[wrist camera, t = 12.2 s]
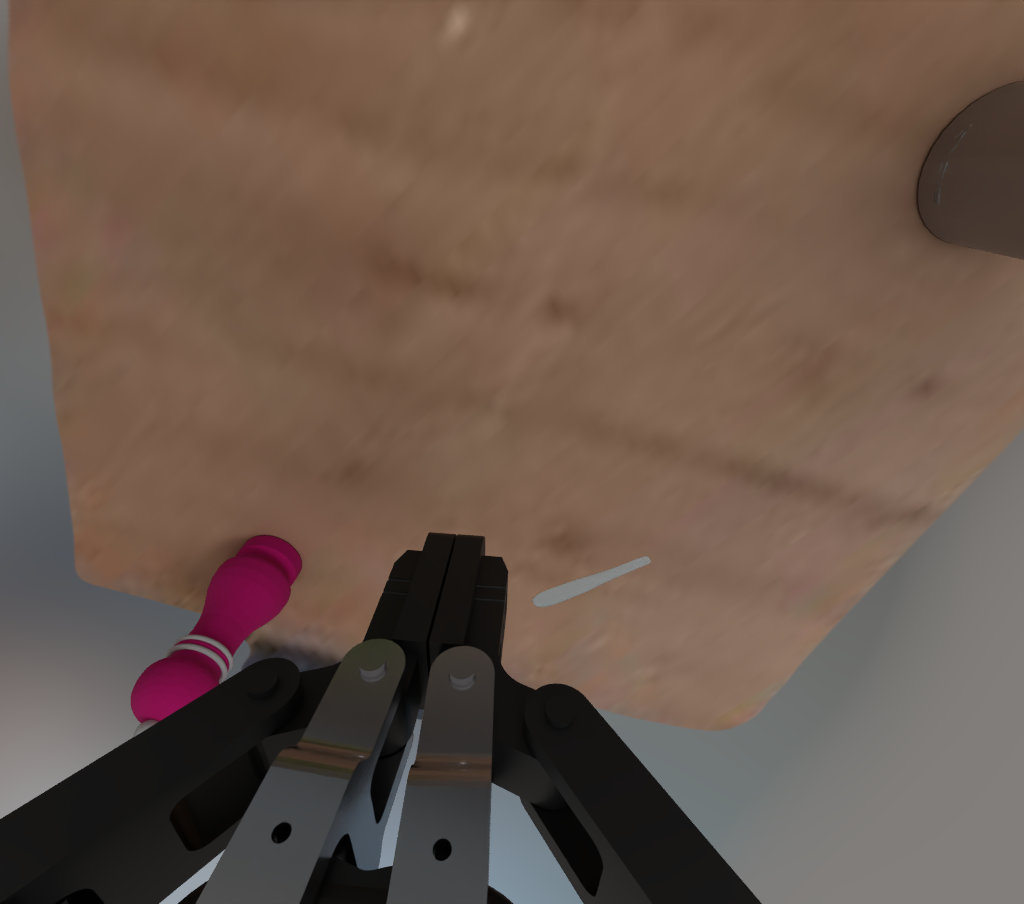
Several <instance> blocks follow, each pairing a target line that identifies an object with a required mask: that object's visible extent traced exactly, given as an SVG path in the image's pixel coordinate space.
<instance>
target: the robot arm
mask: <svg viewBox="0 0 1024 904" xmlns="http://www.w3.org/2000/svg"><path fill="white" fill-rule="evenodd" d="M918 204H919V211H920V214H921V217H922V219H923V221H924V223H925V225H926V227H927V228H928V229H929V230H930V231H931V232H932V233H933V235H935V236H936V237H938V238H940V239H941V240H943V241H945V242H948V243H952V244H955V245H959V246H964V247H968V248H973V249H978V250H983V251H987V252H992V253H996V254H1000V255H1005V256H1010V257H1014V258H1019V259H1024V81H1021V82H1015V83H1011V84H1009V85H1006V86H1003V87H1001V88H998V89H996V90H993V91H992V92H990V93H988V94H987V95H985V96H983V97H982V98H980V99H978V100H977V101H975V102H974V103H973V104H971V105H970V106H969V107H968V108H966V109H965V110H964V111H963V112H962V113H960V114H959V115H958V116H957V117H956V118H955V119H954V120H953V122H952V123H951V124H950V125H949V126H948V127H947V128H946V129H945V130H944V131H943V133H942V134H941V136H940V137H939V139H938V140H937V142H936V143H935V145H934V146H933V148H932V150H931V152H930V154H929V156H928V158H927V160H926V162H925V164H924V167H923V170H922V174H921V177H920V181H919V189H918ZM507 587H508V570H507V568H506V565H505V563H504V561H503V559H502V557H494V556H485V536H473V535H460V534H458V535H456V534H445V533H431V532H430V533H429V534H428V536H427V538H426V541H425V544H424V547H423V550H422V551H414V550H407V551H406V552H405V553H404V554H403V555H402V556H401V557H400V558H399V559H398V560H397V561H396V562H395V563H394V566H393V568H392V571H391V573H390V576H389V580H388V581H387V583H386V586H385V588H384V592H383V593H382V596H381V598H380V600H379V603H378V605H377V608H376V610H375V613H374V615H373V618H372V620H371V623H370V625H369V628H368V630H367V633H366V635H365V638H364V640H363V642H362V643H360V644H358V645H356V646H355V647H353V648H352V649H351V650H350V651H349V652H348V653H347V654H346V655H345V656H344V658H343V660H342V661H341V662H339V663H337V664H335V665H332V666H328V667H324V668H319V669H314V670H309V671H304V672H299V670H298V668H297V666H296V665H295V664H294V663H293V662H291V661H290V660H287V659H284V658H269V659H264V660H261V661H258V662H256V663H254V664H252V665H250V666H248V667H247V668H245V669H244V670H242V671H240V672H239V673H237V674H236V675H234V676H232V677H231V678H229V679H227V680H226V681H224V682H222V683H221V684H219V685H218V686H216V687H214V688H213V689H211V690H209V691H208V692H206V693H205V694H203V695H201V696H200V697H198V698H196V699H195V700H193V701H192V702H190V703H188V704H187V705H185V706H183V707H182V708H180V709H179V710H177V711H175V712H174V713H172V714H170V715H169V716H167V717H166V718H164V719H162V720H161V721H159V722H157V723H156V724H154V725H153V726H151V727H149V728H148V729H146V730H145V731H143V732H141V733H140V734H138V735H136V736H135V737H133V738H132V739H130V740H128V741H127V742H125V743H123V744H122V745H120V746H119V747H117V748H115V749H114V750H112V751H111V752H109V753H107V754H106V755H104V756H102V757H101V758H99V759H98V760H96V761H94V762H93V763H91V764H89V765H88V766H86V767H85V768H83V769H81V770H80V771H78V772H77V773H75V774H73V775H72V776H70V777H68V778H67V779H65V780H63V781H62V782H60V783H58V784H57V785H55V786H54V787H52V788H50V789H49V790H47V791H45V792H44V793H42V794H41V795H39V796H38V797H36V798H34V799H33V800H31V801H29V802H28V803H26V804H24V805H23V806H21V807H20V808H18V809H17V810H15V811H13V812H11V813H10V814H8V815H6V816H5V817H3V818H2V819H0V904H159V903H160V902H161V901H162V900H164V899H165V898H166V897H167V896H169V895H170V894H171V893H172V892H173V891H174V890H176V889H177V888H178V887H180V886H181V885H182V884H183V883H184V882H186V881H187V880H188V879H189V878H190V877H192V876H193V875H194V874H195V873H196V872H198V871H199V870H200V869H201V868H203V867H204V866H205V865H206V864H207V863H209V862H210V861H211V860H212V859H214V858H215V857H216V856H217V855H218V854H220V853H221V852H222V851H223V850H225V851H224V853H223V855H222V856H221V858H220V860H219V862H218V864H217V866H216V868H215V869H214V871H213V873H212V875H211V877H210V878H209V880H208V881H207V882H205V883H204V884H202V885H201V886H199V887H198V888H197V889H195V890H194V891H193V892H191V893H190V894H189V895H187V896H186V897H185V898H184V899H183V900H182V901H180V902H179V903H178V904H513V903H512V902H511V901H510V900H509V899H507V898H506V897H505V896H504V895H503V894H501V893H500V892H498V891H496V890H495V889H494V888H492V887H490V886H488V880H489V878H488V877H489V846H490V815H491V814H490V813H491V783H494V784H496V785H498V786H500V787H502V788H504V789H506V790H508V791H510V792H512V793H514V794H516V795H518V796H519V797H520V799H521V802H522V804H523V806H524V808H525V810H526V811H527V813H528V815H529V816H530V818H531V819H532V821H533V823H534V824H535V826H536V828H537V829H538V831H539V832H540V834H541V836H542V837H543V839H544V840H545V842H546V844H547V845H548V847H549V849H550V850H551V852H552V853H553V855H554V857H555V858H556V860H557V861H558V863H559V864H560V866H561V868H562V869H563V871H564V873H565V874H566V876H567V877H568V879H569V881H570V882H571V884H572V886H573V887H574V889H575V890H576V892H577V894H578V895H579V897H580V899H581V900H582V902H583V903H584V904H761V903H760V901H759V900H758V899H757V898H756V897H755V895H754V894H753V893H752V892H751V891H750V889H749V888H748V887H747V886H746V885H745V884H744V882H742V880H741V879H740V878H739V877H738V875H736V873H735V872H734V871H733V870H732V868H731V867H730V866H729V865H728V864H727V863H726V861H725V860H724V859H723V858H722V857H721V856H720V854H719V853H718V852H717V851H716V850H715V849H714V847H713V846H712V845H711V844H710V843H709V841H708V840H707V839H706V838H705V837H704V836H703V834H702V833H701V832H700V831H699V830H698V829H697V827H696V826H695V825H694V824H693V823H692V822H691V820H690V819H689V818H688V817H687V816H686V814H685V813H684V812H683V811H682V810H681V809H680V808H679V807H678V805H677V804H676V803H675V802H674V800H673V799H672V798H671V797H670V796H669V795H668V793H667V792H666V791H665V790H664V789H663V788H662V786H661V785H660V784H659V783H658V782H657V780H656V779H655V778H654V777H653V776H652V775H651V773H650V772H649V771H648V770H647V769H646V768H645V766H644V765H643V764H642V763H641V762H640V761H639V759H638V758H637V757H636V756H635V755H634V754H633V752H632V751H631V750H630V749H629V748H628V747H627V745H626V744H625V743H624V742H623V741H622V740H621V738H620V737H619V736H618V735H617V734H616V733H615V731H614V730H613V729H612V728H611V727H610V725H609V724H608V723H607V722H606V721H605V720H604V718H603V717H602V716H601V715H600V714H599V713H598V711H597V710H596V709H595V708H594V707H593V705H592V704H591V703H590V702H589V701H588V700H587V698H586V697H585V696H584V695H583V694H582V693H580V692H579V691H578V690H576V689H574V688H573V687H570V686H568V685H564V684H548V685H544V686H542V687H540V688H538V689H537V690H535V689H532V688H530V687H527V686H525V685H523V684H521V683H519V682H517V681H515V680H514V679H512V678H511V677H510V676H509V675H508V674H507V673H506V671H505V670H504V669H503V667H502V665H501V658H502V648H503V639H504V629H505V621H506V612H507ZM419 709H423V710H424V711H423V717H422V724H421V730H420V737H419V742H418V749H417V755H416V760H415V763H414V765H412V766H411V768H410V771H409V775H408V779H407V785H406V791H405V797H404V802H403V808H402V814H401V821H400V827H399V832H398V838H397V844H396V850H395V857H394V862H393V866H389V867H384V868H380V869H378V867H379V862H380V856H381V848H382V847H381V846H382V840H383V835H384V831H385V826H386V824H387V821H388V818H389V814H390V811H391V808H392V805H393V802H394V799H395V796H396V793H397V790H398V787H399V783H400V780H401V777H402V774H403V771H404V768H405V765H406V762H407V759H408V756H409V753H410V750H411V747H412V743H413V730H414V727H415V722H416V719H417V715H418V711H419Z"/></svg>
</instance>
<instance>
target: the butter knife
mask: <svg viewBox="0 0 1024 904" xmlns="http://www.w3.org/2000/svg"><path fill="white" fill-rule="evenodd" d="M649 563H651V561H650V559H649V558H648V556H645V557H642V558H639V559H635V560H633V561H631V562H628V563H626V564H623V565H620V566H617V567H615V568H612V569H609V570H607V571H603V572H600V573H597V574H594V575H590V576H587V577H583V578H580V579H577V580H574V581H571V582H568V583H565V584H562V585H560V586H557V587H554V588H551V589H549V590H546V591H544V592H541V593H539V594H537V595H536V596H535V597H534V598H532V602H533V603H534V605H535V606H537V607H548V606H551V605H554V604H557V603H560V602H563V601H565V600H568V599H570V598H573V597H575V596H577V595H580V594H582V593H585V592H587V591H589V590H591V589H593V588H595V587H597V586H599V585H601V584H603V583H606V582H608V581H610V580H612V579H614V578H616V577H619V576H621V575H623V574H626V573H628V572H630V571H632V570H635V569H637V568H640V567H642V566H644V565H647V564H649Z"/></svg>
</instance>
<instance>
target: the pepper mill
mask: <svg viewBox="0 0 1024 904" xmlns="http://www.w3.org/2000/svg"><path fill="white" fill-rule="evenodd" d="M301 568H302V561H301V558H300V555H299V554H298V552H297V551H296V550H295V549H294V548H293V547H292V546H291V545H290V544H289V543H287V542H285V541H284V540H282V539H280V538H277V537H274V536H266V535H263V536H256V537H253V538H251V539H249V540H248V541H247V542H246V543H245V544H244V546H243V547H242V548H241V549H240V551H239V552H238V553H237V555H236V557H233V558H231V559H228V560H227V561H225V562H224V563H223V564H222V565H221V566H220V567H219V568H218V570H217V571H216V573H215V574H214V576H213V577H212V580H211V582H210V585H209V588H208V591H207V596H206V600H205V605H204V609H203V612H202V615H201V617H200V619H199V621H198V623H197V624H196V626H195V627H194V629H193V630H192V631H191V632H190V634H188V635H185V636H183V637H180V638H179V639H178V640H177V641H176V642H175V643H174V646H173V647H172V648H171V649H169V651H168V652H167V655H166V658H164V659H161V660H159V661H157V662H155V663H153V664H152V665H150V666H149V667H148V668H147V669H146V670H145V671H144V672H143V673H142V675H141V676H140V677H139V679H138V680H137V682H136V684H135V686H134V688H133V691H132V694H131V708H132V711H133V713H134V715H135V717H136V718H137V720H138V721H139V722H141V724H140V725H139V726H138V727H137V729H136V730H135V733H134V737H135V736H136V735H138V734H140V733H141V732H143V731H145V730H146V729H148V728H149V727H151V726H153V725H154V724H156V723H157V722H159V721H161V720H162V719H164V718H166V717H167V716H169V715H170V714H172V713H174V712H175V711H177V710H179V709H180V708H182V707H183V706H185V705H187V704H188V703H190V702H192V701H193V700H195V699H196V698H198V697H200V696H201V695H203V694H205V693H206V692H208V691H209V690H211V689H213V688H214V687H216V686H218V685H219V683H221V682H222V681H223V680H224V679H225V678H226V676H227V673H228V672H229V671H230V670H231V669H232V666H233V655H234V653H235V652H236V650H237V649H238V647H239V646H240V645H241V643H242V642H243V641H244V640H245V639H246V638H247V637H248V636H249V635H250V634H251V633H252V632H253V631H255V630H256V629H258V628H260V627H261V626H263V625H264V624H266V623H268V622H269V621H271V620H272V619H273V618H274V617H275V616H276V615H278V614H279V613H280V611H281V610H282V609H283V607H284V606H285V605H286V603H287V602H288V600H289V597H290V592H291V588H290V586H291V585H292V584H293V583H294V581H295V579H296V578H297V576H298V575H299V573H300V571H301Z"/></svg>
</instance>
